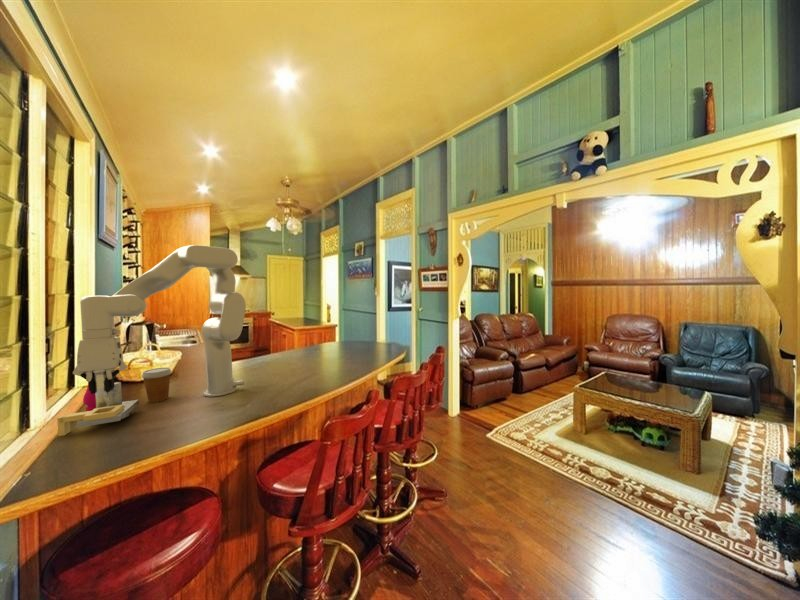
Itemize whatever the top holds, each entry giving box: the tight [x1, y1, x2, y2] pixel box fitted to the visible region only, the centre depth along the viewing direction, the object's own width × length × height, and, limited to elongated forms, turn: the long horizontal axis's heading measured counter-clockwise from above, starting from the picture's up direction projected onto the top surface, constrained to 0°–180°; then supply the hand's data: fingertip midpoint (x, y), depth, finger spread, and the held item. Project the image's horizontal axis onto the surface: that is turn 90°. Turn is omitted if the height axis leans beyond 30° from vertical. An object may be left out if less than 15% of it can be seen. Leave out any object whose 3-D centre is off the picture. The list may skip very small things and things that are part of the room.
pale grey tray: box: [76, 381, 140, 428], centre depth 104 cm, size 10×17×12 cm, turn 24°
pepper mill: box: [82, 381, 96, 412], centre depth 116 cm, size 7×7×20 cm
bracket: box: [56, 404, 124, 437], centre depth 99 cm, size 14×7×6 cm, turn 114°
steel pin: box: [93, 370, 109, 408], centre depth 100 cm, size 4×4×12 cm
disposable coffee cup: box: [141, 367, 173, 403], centre depth 125 cm, size 10×10×12 cm
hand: (102, 391), depth 100 cm, fingers closed on steel pin, 3 cm apart
